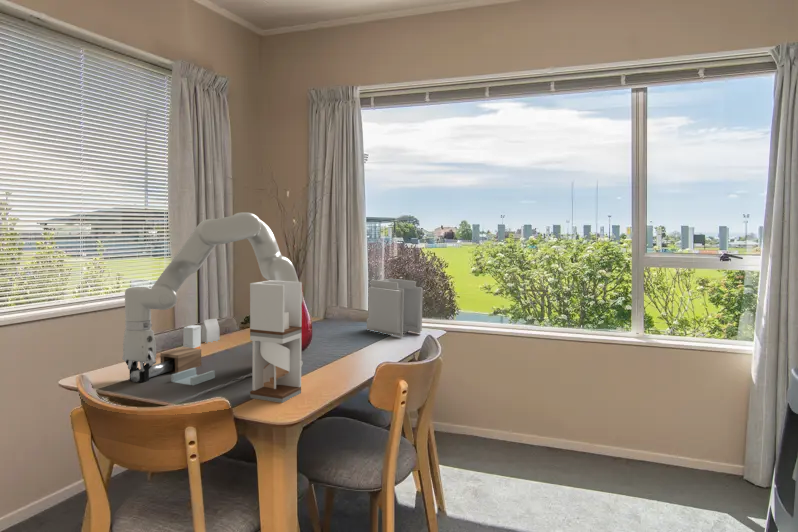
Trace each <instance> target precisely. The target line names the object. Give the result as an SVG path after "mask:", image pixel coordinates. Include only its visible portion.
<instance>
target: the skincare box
mask: <svg viewBox="0 0 798 532" xmlns="http://www.w3.org/2000/svg"><path fill="white" fill-rule="evenodd" d="M182 328H183V330H182V331H183V338H182V339H183V345H182V347H189V348H196V349H201V350H202V342H201V329H202V326H201V325H195V324H191V325H188V326H185V327H182Z"/></svg>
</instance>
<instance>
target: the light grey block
mask: <svg viewBox="0 0 798 532" xmlns="http://www.w3.org/2000/svg"><path fill="white" fill-rule="evenodd" d="M218 340H221V339H220V326H219V321H218V318H208V319H204V320H203V322H202V326H201V343H203V342H206V343H205V344H209V343H208V342H211V343H214V342H213V341H216V342H219V341H218Z"/></svg>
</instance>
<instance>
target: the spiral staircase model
mask: <svg viewBox="0 0 798 532" xmlns="http://www.w3.org/2000/svg"><path fill="white" fill-rule="evenodd" d="M302 285H303V282H302V281H299V282H290V281H273V280H263V281H257V282H250V283H249V340H250V341H252V344H251V345H252V355H251V356H252V360H251V362H252V371H251V372H252V373H251V374H252V376H251V377H252V379H251V380H252V390H250V391H249V395H250V396H249V398H250V399H255V400H262V401H268V402H275V403H280V402H281V404H282V403H285V402H286V401H288V400H291V399H293V398H294V396H295V397H297V396H299V395H300V394H301V393H302V367H301V361H302V331H303V330H302V321H303V320H302V319H303V317H302V316H303V314H302V313H303V311H302V310H303V308H302V307H303V306H302V305H303V301H302V294H303V291H302V289H303V288H302V287H303V286H302ZM292 397H293V398H292ZM290 398H291V399H290Z"/></svg>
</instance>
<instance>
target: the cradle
mask: <svg viewBox="0 0 798 532" xmlns="http://www.w3.org/2000/svg"><path fill="white" fill-rule="evenodd" d="M170 376H171V377H170V379H171V380H170V381H171V383H177V384H181V385H187V386H195V385H199V384H201V383H204V382H207V381H210V380H212V379H215V378H216V371H215V370H209V371H207V372H204V373H200V374H197V367H196V368H191V369H188V370H185V371H181V372H178V373H175V372H174V373H171V375H170Z"/></svg>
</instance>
